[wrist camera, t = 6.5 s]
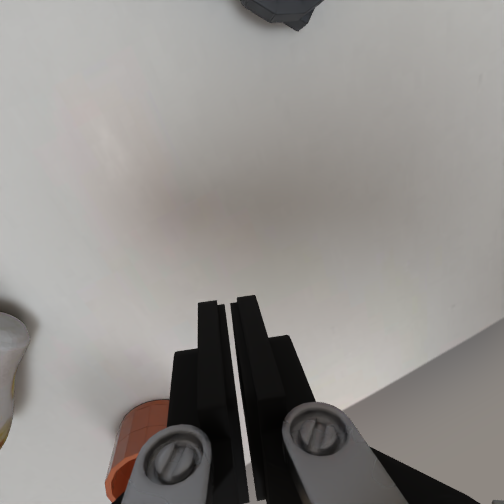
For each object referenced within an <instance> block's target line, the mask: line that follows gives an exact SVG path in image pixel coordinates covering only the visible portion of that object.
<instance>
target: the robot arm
mask: <svg viewBox="0 0 504 504" xmlns="http://www.w3.org/2000/svg"><path fill="white" fill-rule="evenodd" d="M230 305H231V314H232V322H233V331H234V339H235V348H236V356H237V365H238V373H239V381H240V389H241V395H242V402H243V409H244V416H245V422H246V429H247V436H248V443H249V450H250V456H251V463H252V470H253V477H254V483H255V490H256V497H257V501H259V500H264V499H266V502H267V504H480V503H478V502H476V501H475V500H474V499H472V498H470V497H469V496H467V495H465V494H463V493H461V492H459V491H457V490H455V489H453V488H451V487H449V486H447V485H445V484H443V483H441V482H439V481H437V480H435V479H433V478H431V477H429V476H427V475H425V474H423V473H421V472H419V471H417V470H415V469H413V468H411V467H409V466H407V465H405V464H403V463H401V462H399V461H397V460H395V459H393V458H391V457H389V456H387V455H385V454H383V453H381V452H379V451H377V450H375V449H373V448H371V447H369V446H368V444H367V443H366V441H365V440H364V438H363V437H362V436H361V434H360V433H359V431H358V430H357V428H356V427H355V425H354V424H353V422H352V421H351V420H350V418H348V417H347V415H346V414H345V413H344V412H343V411H341V410H340V409H338V408H336V407H335V406H332V405H329V404H326V403H322V402H316V401H315V398H314V396H313V393H312V391H311V388H310V386H309V383H308V381H307V378H306V376H305V373H304V371H303V368H302V366H301V363H300V361H299V358H298V356H297V353H296V351H295V348H294V346H293V343H292V341H291V339H290V337H289V335H284V336H277V337H270V338H268V335H267V332H266V329H265V326H264V322H263V319H262V316H261V312H260V309H259V306H258V302H257V299H256V296H255V295H251V296H244V297H237V302H236V303H230ZM244 503H249V494H248V486H247V478H246V470H245V461H244V453H243V445H242V437H241V429H240V421H239V413H238V405H237V397H236V390H235V382H234V374H233V366H232V359H231V351H230V343H229V335H228V328H227V320H226V312H225V304H222V305H217V300H215V301H207V302H200V303H198V348H197V349H191V350H184V351H177V352H175V354H174V361H173V371H172V380H171V390H170V399H169V409H168V419H167V428H165V429H163V430H161V431H159V432H157V433H156V434H155V435H153V436H152V437H151V438H149V440H148V441H147V442H146V443H145V444H144V445H143V446H142V448H141V450H140V452H139V454H138V456H137V458H136V461H135V464H134V467H133V470H132V473H131V476H130V479H129V481H128V484H127V487H126V490H125V491H124V492H123V493H122V494H121V495H120V496H119V497H118V498H117V499H116V500H115V501H114V502H113V503H112V504H244ZM492 504H504V501H502V500H493V501H492Z"/></svg>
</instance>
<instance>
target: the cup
mask: <svg viewBox="0 0 504 504" xmlns="http://www.w3.org/2000/svg"><path fill="white" fill-rule="evenodd" d="M168 409H169V400H155V401H150V402H147V403H144V404H141V405H139V406H137V407H136V408H134V409H133V410H131V411H130V412H129V413H128V414H127V415H126V416H125V417H124V419H123V420H122V422H121V424H120V427H119V431H118V433H117V436H116V440H115V444H114V448H113V452H112V456H111V460H110V464H109V468H108V472H107V476H106V480H105V488H106V495H107V497H108V498H109V500H110V501H111V502H112V503H113V502H114V501H115V500H116V499H117V498H118V497H119V496H120V495H121V494H122V493H123V492H124V491H125V490H126V487H127V484H128V481H129V479H130V476H131V473H132V470H133V467H134V464H135V461H136V458H137V456H138V454H139V452H140V450H141V448H142V446H143V445H144V444H145V443H146V442H147V441H148V440H149V438H151V437H152V436H153V435H155V434H156V433H157V432H159V431H161V430H163V429H165V428H167V419H168Z"/></svg>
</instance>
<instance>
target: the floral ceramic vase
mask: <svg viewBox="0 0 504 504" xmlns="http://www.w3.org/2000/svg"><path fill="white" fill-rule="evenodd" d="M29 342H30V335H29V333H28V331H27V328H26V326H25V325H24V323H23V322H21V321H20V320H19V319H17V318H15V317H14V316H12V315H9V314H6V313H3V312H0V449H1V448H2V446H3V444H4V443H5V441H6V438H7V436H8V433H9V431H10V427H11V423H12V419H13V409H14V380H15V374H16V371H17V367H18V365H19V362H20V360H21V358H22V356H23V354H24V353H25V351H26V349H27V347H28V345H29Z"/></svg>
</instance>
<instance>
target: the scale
mask: <svg viewBox="0 0 504 504" xmlns="http://www.w3.org/2000/svg"><path fill="white" fill-rule="evenodd" d="M240 1H241V3H242V5H243V6H244V7H245V8H247V9H248V10H250V11H251V12H253V13H255V14H256V15H258V16H260V17H261V18H263V19H264V20H266V21H268V22H270V23H273V22H283V23H285V24H286V25H288V26H290V27H291V28H293V29H294V30H296V31H299V30H300V29H301V28H303V27H304V26H305V25H306V24H307V23H308V22H309V20H310V17H311V15H312V13H313V11H314V9H315V7H316V6H318V5H319V4H320V3H321V2H323V1H324V0H240Z"/></svg>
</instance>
